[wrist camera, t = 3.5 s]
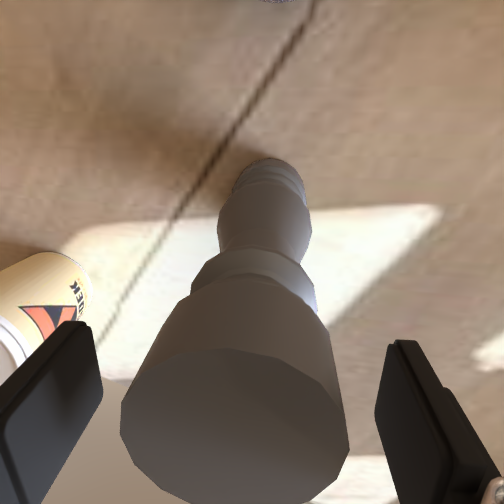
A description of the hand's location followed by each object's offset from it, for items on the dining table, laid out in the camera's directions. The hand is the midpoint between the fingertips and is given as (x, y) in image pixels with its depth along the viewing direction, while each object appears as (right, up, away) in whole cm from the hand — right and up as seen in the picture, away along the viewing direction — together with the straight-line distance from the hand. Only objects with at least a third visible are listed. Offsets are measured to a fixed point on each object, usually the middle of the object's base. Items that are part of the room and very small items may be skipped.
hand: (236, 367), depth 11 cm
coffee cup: (-20, 0, +26) cm, 33 cm away
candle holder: (+2, +9, +21) cm, 23 cm away
